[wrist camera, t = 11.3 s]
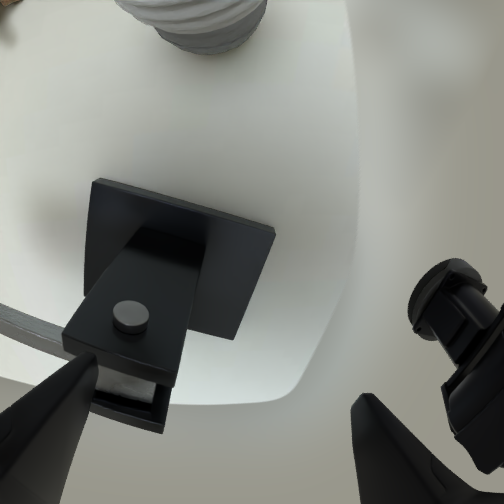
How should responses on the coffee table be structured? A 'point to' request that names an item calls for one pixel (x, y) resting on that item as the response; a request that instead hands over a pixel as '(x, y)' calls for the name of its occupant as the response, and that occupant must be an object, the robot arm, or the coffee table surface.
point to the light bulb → (199, 21)
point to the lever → (50, 342)
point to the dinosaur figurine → (7, 2)
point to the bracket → (158, 288)
